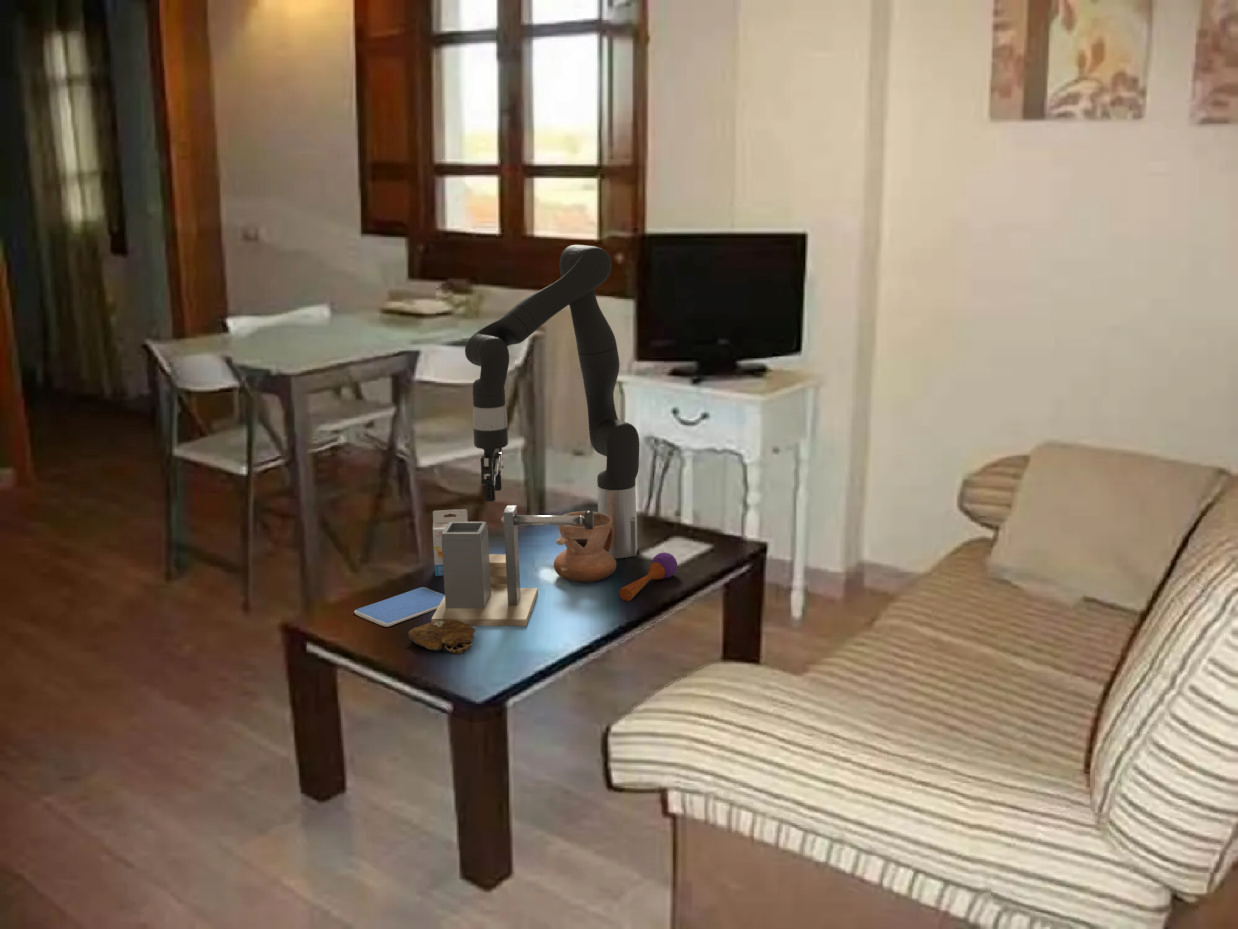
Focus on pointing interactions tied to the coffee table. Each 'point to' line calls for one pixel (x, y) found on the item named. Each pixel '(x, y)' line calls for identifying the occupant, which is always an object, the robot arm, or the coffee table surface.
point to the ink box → (438, 528)
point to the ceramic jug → (586, 550)
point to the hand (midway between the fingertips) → (493, 495)
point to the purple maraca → (651, 574)
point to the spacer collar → (498, 570)
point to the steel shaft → (555, 520)
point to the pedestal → (466, 565)
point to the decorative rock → (444, 636)
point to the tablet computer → (401, 607)
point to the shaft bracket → (512, 556)
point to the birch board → (492, 610)
